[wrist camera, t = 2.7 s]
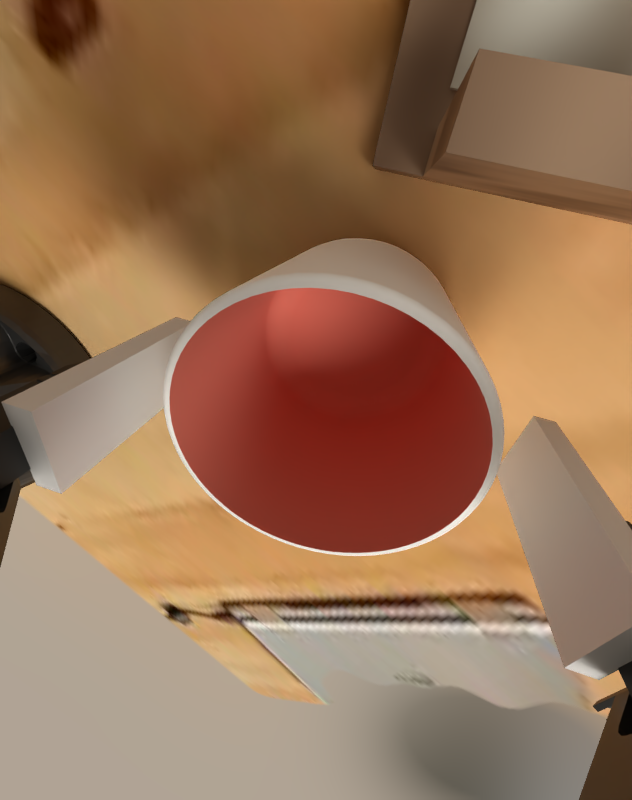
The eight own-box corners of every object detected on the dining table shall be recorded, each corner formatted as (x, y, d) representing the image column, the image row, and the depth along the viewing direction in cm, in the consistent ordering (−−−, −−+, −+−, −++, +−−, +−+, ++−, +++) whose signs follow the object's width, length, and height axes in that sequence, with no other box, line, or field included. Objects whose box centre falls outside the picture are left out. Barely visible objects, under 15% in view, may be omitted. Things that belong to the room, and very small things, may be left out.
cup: (245, 362, 20) (140, 474, 12) (313, 193, 15) (205, 179, 6) (382, 437, 21) (373, 591, 13) (496, 301, 15) (610, 415, 7)
